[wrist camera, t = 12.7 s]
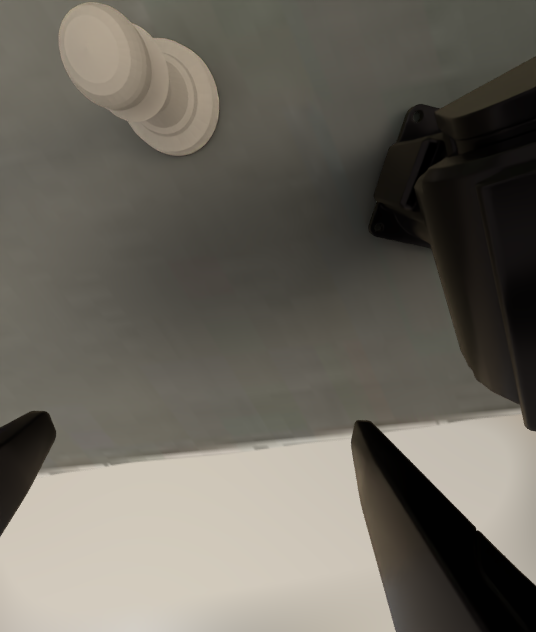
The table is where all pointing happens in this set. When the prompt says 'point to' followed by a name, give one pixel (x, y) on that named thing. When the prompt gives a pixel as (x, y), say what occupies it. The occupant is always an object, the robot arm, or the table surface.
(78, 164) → the table surface
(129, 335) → the table surface
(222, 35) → the table surface
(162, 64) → the chess piece
